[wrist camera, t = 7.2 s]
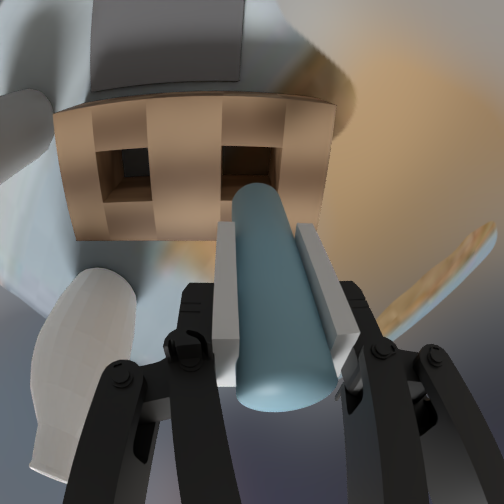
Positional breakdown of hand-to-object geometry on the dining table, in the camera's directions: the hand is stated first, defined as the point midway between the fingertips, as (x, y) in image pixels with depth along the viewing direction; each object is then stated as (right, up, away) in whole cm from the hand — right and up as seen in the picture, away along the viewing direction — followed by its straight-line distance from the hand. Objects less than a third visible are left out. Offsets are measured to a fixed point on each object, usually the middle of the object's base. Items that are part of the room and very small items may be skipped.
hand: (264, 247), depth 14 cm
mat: (-8, +21, +4) cm, 23 cm away
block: (-6, +9, +12) cm, 17 cm away
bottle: (-20, -5, +22) cm, 30 cm away
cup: (-25, +13, +8) cm, 29 cm away
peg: (0, +3, +4) cm, 5 cm away
